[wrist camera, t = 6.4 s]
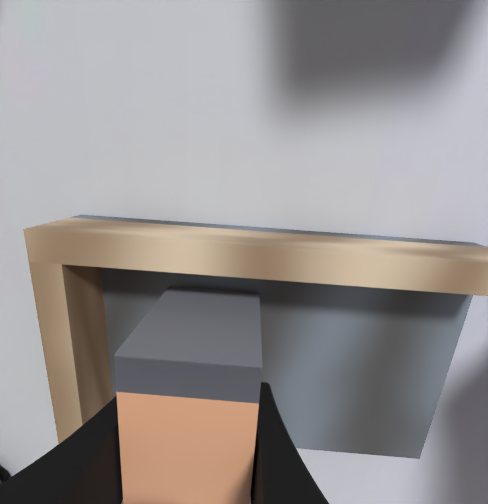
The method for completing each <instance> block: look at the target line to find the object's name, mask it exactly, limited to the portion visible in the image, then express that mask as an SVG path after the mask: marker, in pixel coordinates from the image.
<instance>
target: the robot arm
mask: <svg viewBox="0 0 488 504" xmlns="http://www.w3.org/2000/svg"><path fill="white" fill-rule="evenodd" d="M250 495H251V504H329V503H328V501H327V500H326V498H325V497H324V495H323V494H322V492H321V491H320V489H319V488H318V486H317V484H316V483H315V481H314V480H313V478H312V476H311V475H310V473H309V471H308V470H307V468H306V466H305V464H304V463H303V461H302V459H301V457H300V455H299V453H298V452H297V450H296V448H295V446H294V444H293V442H292V440H291V438H290V436H289V434H288V431H287V429H286V427H285V425H284V423H283V420H282V418H281V416H280V413H279V411H278V408H277V405H276V403H275V400H274V397H273V394H272V390H271V387H270V384H269V383H267V382H261V388H260V398H259V409H258V419H257V430H256V440H255V451H254V461H253V472H252V482H251V493H250ZM122 500H123V490H122V474H121V458H120V442H119V426H118V410H117V395H116V396H115V397H114V398H113V399H112V400H111V401H110V402H109V403H108V404H106V405H105V406H104V407H103V408H102V409H101V410H100V411H99V412H98V413H96V414H95V415H94V416H93V417H92V418H91V419H89V420H88V421H87V422H86V423H85V424H83V425H82V426H81V427H80V428H79V429H77V430H76V431H75V432H74V433H73V434H71V435H70V436H69V437H68V438H66V439H65V440H64V441H62V442H61V443H60V444H59V445H57V446H56V447H55V448H53V449H52V450H50V451H49V452H48V453H46V454H45V455H44V456H42V457H41V458H39V459H38V460H36V461H35V462H34V463H32V464H31V465H29V466H27V467H26V468H24V469H23V470H21V471H20V472H18V473H17V474H15V475H14V476H12V477H11V478H9V479H8V480H6V481H5V482H3V483H2V484H0V504H121V502H122Z"/></svg>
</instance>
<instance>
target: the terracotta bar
mask: <svg viewBox="0 0 488 504" xmlns="http://www.w3.org/2000/svg"><path fill="white" fill-rule="evenodd" d="M114 362H115V378H116V394H117V410H118V426H119V442H120V458H121V474H122V490H123V504H249V503H250V493H251V482H252V472H253V461H254V451H255V440H256V430H257V419H258V409H259V398H260V388H261V377H262V367H263V366H262V343H261V320H260V297H259V292H246V291H233V290H219V289H206V288H193V287H179V286H169V287H168V288H167V289H166V291H165V292H164V293H163V294H162V296H161V297H160V298H159V299H158V301H157V302H156V303H155V304H154V306H153V307H152V308H151V309H150V310H149V312H148V313H147V314H146V315H145V317H144V318H143V319H142V320H141V322H140V323H139V324H138V325H137V327H136V328H135V329H134V330H133V332H132V333H131V334H130V335H129V337H128V338H127V339H126V340H125V342H124V343H123V344H122V345H121V346H120V348H119V349H118V350H117V351H116V353H115V354H114Z"/></svg>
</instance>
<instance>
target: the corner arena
mask: <svg viewBox="0 0 488 504" xmlns="http://www.w3.org/2000/svg"><path fill="white" fill-rule="evenodd" d="M23 230H24V236H25V242H26V248H27V254H28V260H29V266H30V272H31V278H32V284H33V290H34V296H35V302H36V308H37V314H38V321H39V327H40V333H41V339H42V345H43V351H44V357H45V363H46V369H47V375H48V381H49V387H50V393H51V399H52V405H53V411H54V417H55V423H56V430H57V436H58V442H59V444H60V443H61V442H62V441H64V440H65V439H66V438H68V437H69V436H70V435H71V434H73V433H74V432H75V431H76V430H77V429H79V428H80V427H81V426H82V425H83V424H85V423H86V422H87V421H88V420H89V419H91V418H92V417H93V416H94V415H95V414H96V413H98V412H99V411H100V410H101V409H102V408H103V407H104V406H105V405H106V404H108V403H109V402H110V401H111V400H112V399H113V398H114V397H115V396H116V395H117V394H116V378H115V362H114V354H115V353H116V351H117V350H118V349H119V348H120V346H121V345H122V344H123V343H124V342H125V340H126V339H127V338H128V337H129V335H130V334H131V333H132V332H133V330H134V329H135V328H136V327H137V325H138V324H139V323H140V322H141V320H142V319H143V318H144V317H145V315H146V314H147V313H148V312H149V310H150V309H151V308H152V307H153V306H154V304H155V303H156V302H157V301H158V299H159V298H160V297H161V296H162V294H163V293H164V292H165V291H166V289H167V288H168V287H169V286H179V287H193V288H206V289H219V290H233V291H246V292H259V297H260V320H261V343H262V366H263V367H262V377H261V382H267V383H269V384H270V387H271V390H272V394H273V397H274V400H275V403H276V405H277V408H278V411H279V413H280V416H281V418H282V420H283V423H284V425H285V427H286V429H287V431H288V434H289V436H290V438H291V440H292V442H293V444H294V446H295V448H300V449H312V450H324V451H336V452H347V453H359V454H371V455H382V456H394V457H406V458H417V459H419V458H420V455H421V452H422V449H423V446H424V443H425V440H426V437H427V434H428V431H429V428H430V425H431V422H432V419H433V416H434V413H435V409H436V406H437V403H438V400H439V397H440V394H441V391H442V388H443V385H444V382H445V379H446V376H447V373H448V370H449V367H450V364H451V361H452V358H453V355H454V351H455V348H456V345H457V342H458V339H459V336H460V333H461V330H462V327H463V324H464V321H465V318H466V315H467V312H468V309H469V306H470V303H471V300H472V297H473V295H481V296H488V247H485V246H482V245H479V244H476V243H470V242H456V241H442V240H428V239H414V238H399V237H385V236H371V235H357V234H343V233H329V232H315V231H301V230H287V229H273V228H258V227H244V226H230V225H216V224H202V223H188V222H174V221H160V220H146V219H132V218H117V217H103V216H89V215H78V216H74V217H70V218H66V219H62V220H58V221H54V222H50V223H47V224H43V225H39V226H35V227H31V228H27V229H23Z"/></svg>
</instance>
